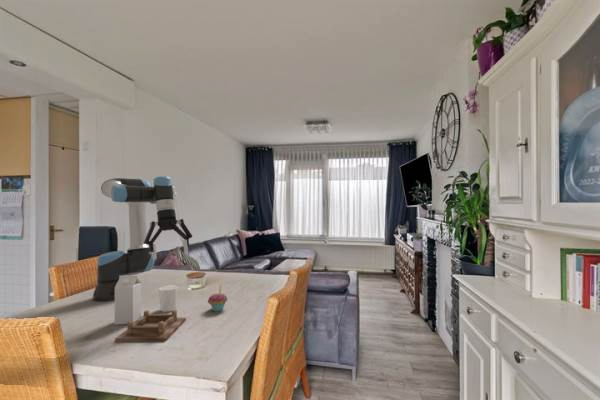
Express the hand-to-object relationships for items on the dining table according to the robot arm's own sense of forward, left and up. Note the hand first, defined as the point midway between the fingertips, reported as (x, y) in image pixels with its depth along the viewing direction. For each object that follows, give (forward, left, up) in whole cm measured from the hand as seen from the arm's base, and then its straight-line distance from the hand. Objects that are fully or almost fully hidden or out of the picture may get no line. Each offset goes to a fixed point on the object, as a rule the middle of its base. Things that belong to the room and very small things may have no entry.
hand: (171, 256), depth 126 cm
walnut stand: (+16, 0, -25) cm, 30 cm away
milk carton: (+7, -15, -26) cm, 30 cm away
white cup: (-6, -4, -26) cm, 26 cm away
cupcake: (-5, +19, -26) cm, 32 cm away
